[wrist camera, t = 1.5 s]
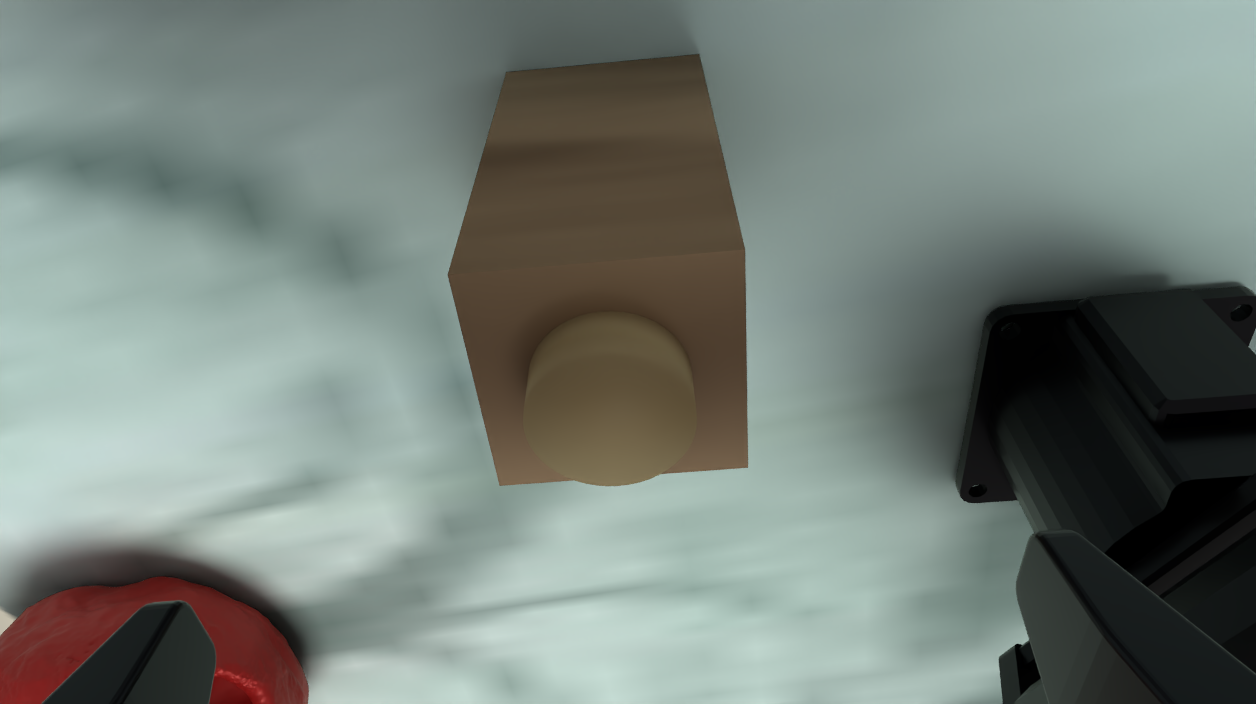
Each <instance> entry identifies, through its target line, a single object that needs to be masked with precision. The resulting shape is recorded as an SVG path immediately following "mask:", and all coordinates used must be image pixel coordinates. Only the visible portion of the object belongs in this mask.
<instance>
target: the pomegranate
mask: <svg viewBox="0 0 1256 704" xmlns="http://www.w3.org/2000/svg"><path fill="white" fill-rule="evenodd" d="M176 600H182V601H185V602H187V603H188V604H190V605H191V607H192V608H193V610H194V611H195V613H196V615H197V616H198V618H199V620H200V621H201V623H202V625H203V626H204V628H205V630H206V631H207V633H208V635H209V636H210V638H211V640H212V641H213V643H214V646H215V650H216V669H215V674H214V679H213V685H212V690H211V696H210V701H209V704H308V696H309V687H308V683H307V680H306V677H305V674H304V672H303V669H302V667H301V665H300V663H299V661H298V660H297V658H296V657H295V655H294V653H293V651H292V649H291V648H290V647H289V645H288V642H287V640H286V639H285V637H284V636H283V635H282V634H281V633H280V632H279V631H278V630H277V629H276V628H275V627H274V626H273V625H272V624H271V623H270V621H269V619H268V618H266V617H265V616H263V615H262V614H261V613H260V612H259V611H257V610H256V609H254V608H252V607H250V606H248V605H246V604H244V603H243V602H239V601H236V600H233V599H232V598H230V597H228V596H226V595H224V594H223V593H220V592H218V591H216V590H215V589H213V588H211V587H207V586H203V585H200V584H195V583H191V582H188V581H185V580H182V579H179V578H173V577H165V576H159V577H153V578H149V579H146V580H144V581H141V582H137V583H134V584H129V585H125V586H121V587H107V586H102V585H96V586H81V587H76V588H72V589H68V590H64V591H62V592H58V593H56V594H53V595H51V596H49V597H47V598H45V599H43V600H41V601H39V602H37V603H36V604H35V605H33V606H31V607H28V608H26V610H25V611H24V612H23V613H22V614H21V615H20V616H19V617H18V618H17V619H16V620H15V621H14V622H13V623H12V624H11V625H10V627H8V628H7V629H6V630H5V631H4V632H3V633H2V635H1V636H0V704H41V703H42V702H43V701H44V700H45V699H46V698H47V697H48V696H49V695H50V694H51V693H52V692H54V691H55V690H56V689H57V688H58V687H59V686H60V685H61V684H62V683H63V682H64V681H65V680H66V679H67V678H68V677H69V676H70V675H71V674H72V673H73V672H74V671H75V670H76V669H77V668H78V667H79V666H80V665H81V664H82V663H83V662H84V661H86V660H87V659H88V658H89V657H90V656H91V655H92V654H93V653H94V652H95V651H96V650H97V649H98V648H99V647H100V646H101V645H102V644H103V643H104V642H105V641H106V640H107V639H108V638H109V637H110V636H111V635H112V634H113V633H114V632H115V631H117V630H118V629H119V628H120V627H121V626H122V625H123V624H124V623H125V622H126V621H127V620H128V619H129V618H130V617H131V616H132V615H133V614H134V613H135V612H136V611H137V610H138V609H140V608H141V607H143V606H144V605H146V604H149V603H153V602H164V601H176Z"/></svg>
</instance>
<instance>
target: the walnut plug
mask: <svg viewBox="0 0 1256 704" xmlns="http://www.w3.org/2000/svg"><path fill="white" fill-rule="evenodd" d="M448 278H449V282H450V286H451V290H452V294H453V298H454V302H455V306H456V310H457V314H458V318H459V322H460V327H461V331H462V335H463V339H464V343H465V347H466V351H467V355H468V359H469V363H470V367H471V371H472V375H473V379H474V383H475V387H476V391H477V396H478V400H479V404H480V408H481V412H482V416H483V420H484V424H485V428H486V432H487V436H488V440H489V444H490V448H491V452H492V456H493V460H494V464H495V469H496V473H497V477H498V481H499V485H500V486H503V485H516V484H530V483H544V482H557V481H571V480H575V481H578V482H582V483H586V484H592V485H599V486H621V485H629V484H634V483H638V482H642V481H645V480H648V479H651V478H653V477H655V476H657V475H659V474H667V473H680V472H694V471H708V470H721V469H735V468H748V433H747V358H746V283H745V247H744V243H743V239H742V234H741V230H740V226H739V222H738V217H737V213H736V209H735V205H734V200H733V196H732V192H731V188H730V183H729V179H728V175H727V171H726V166H725V162H724V158H723V153H722V149H721V145H720V141H719V136H718V132H717V128H716V124H715V119H714V115H713V111H712V107H711V102H710V98H709V94H708V90H707V85H706V81H705V77H704V72H703V68H702V64H701V60H700V55H699V54H695V55H685V56H674V57H663V58H653V59H642V60H631V61H621V62H610V63H599V64H589V65H578V66H567V67H557V68H546V69H535V70H525V71H514V72H506V75H505V78H504V82H503V85H502V89H501V92H500V96H499V99H498V102H497V106H496V109H495V113H494V116H493V120H492V123H491V127H490V130H489V134H488V137H487V140H486V144H485V147H484V151H483V154H482V158H481V161H480V165H479V168H478V172H477V175H476V178H475V182H474V185H473V189H472V192H471V196H470V199H469V203H468V206H467V210H466V213H465V216H464V220H463V223H462V227H461V230H460V234H459V237H458V241H457V244H456V248H455V251H454V255H453V258H452V261H451V265H450V268H449V272H448Z"/></svg>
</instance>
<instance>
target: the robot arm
mask: <svg viewBox="0 0 1256 704" xmlns="http://www.w3.org/2000/svg"><path fill="white" fill-rule="evenodd" d="M1239 305H1241V306H1240V308H1238V309H1237V310H1235V311H1233V312H1232V310H1233V309H1234V308H1236V307H1237V306H1239ZM1009 323H1014V324H1013V326H1012V327H1010V328H1009V329H1006V330H1001V328H1002V327H1003V326H1005V325H1006V324H1009ZM1255 329H1256V294H1255V293H1254V292H1253V291H1252V290H1250V289H1248V288H1246V287H1227V288H1214V289H1202V290H1191V289H1182V290H1170V291H1157V292H1145V293H1132V294H1120V295H1108V296H1095V297H1089V298H1086V299H1078V300H1066V301H1054V302H1041V303H1029V304H1016V305H1007V306H1002V307H999V308H997V309H995V310H994V311H992V312H991V313H990V314H989V315H988V316H987V318H986V320H985V323H984V327H983V332H982V338H981V344H980V349H979V355H978V360H977V366H976V371H975V377H974V382H973V388H972V393H971V399H970V405H969V410H968V416H967V421H966V427H965V432H964V438H963V443H962V449H961V454H960V460H959V466H958V471H957V477H956V488H957V490H958V492H959V495H960V497H961V498H962V499H963V500H964V501H966V502H968V503H985V502H999V501H1013V500H1018V501H1019V503H1020V505H1021V507H1022V509H1023V511H1024V513H1025V515H1026V517H1027V519H1028V521H1029V523H1030V525H1031V527H1032V529H1033V531H1034V534H1032V535H1031V536H1030V538H1029V540H1028V543H1027V546H1026V549H1025V553H1024V556H1023V560H1022V563H1021V566H1020V570H1019V573H1018V576H1017V581H1016V594H1017V600H1018V604H1019V607H1020V611H1021V614H1022V617H1023V620H1024V624H1025V627H1026V630H1027V634H1028V637H1029V641H1027V642H1026V643H1025V644H1023V645H1021V644H1016V645H1015V646H1013V647H1012V648H1011V649H1009V650H1008V651H1007V652H1005V653H1004V654H1002V655H1001V656H1000V657H999V667H1000V678H1001V688H1002V698H1003V704H1256V354H1255V353H1254V352H1253V351H1252V350H1251V349H1250V348H1249V347H1248V346H1249V343H1250V341H1251V338H1252V336H1253V334H1254V331H1255ZM978 484H979V485H978ZM974 485H977V486H974ZM973 486H974V487H973ZM215 669H216V650H215V646H214V643H213V641H212V640H211V638H210V636H209V635H208V633H207V631H206V630H205V628H204V626H203V625H202V623H201V621H200V620H199V618H198V616H197V615H196V613H195V611H194V610H193V608H192V607H191V605H190V604H188V603H187V602H185V601H182V600H176V601H164V602H153V603H149V604H146V605H144V606H143V607H141V608H140V609H138V610H137V611H136V612H135V613H134V614H133V615H132V616H131V617H130V618H129V619H128V620H127V621H126V622H125V623H124V624H123V625H122V626H121V627H120V628H119V629H118V630H117V631H115V632H114V633H113V634H112V635H111V636H110V637H109V638H108V639H107V640H106V641H105V642H104V643H103V644H102V645H101V646H100V647H99V648H98V649H97V650H96V651H95V652H94V653H93V654H92V655H91V656H90V657H89V658H88V659H87V660H86V661H84V662H83V663H82V664H81V665H80V666H79V667H78V668H77V669H76V670H75V671H74V672H73V673H72V674H71V675H70V676H69V677H68V678H67V679H66V680H65V681H64V682H63V683H62V684H61V685H60V686H59V687H58V688H57V689H56V690H55V691H54V692H52V693H51V694H50V695H49V696H48V697H47V698H46V699H45V700H44V701H43V702H42V703H41V704H209V701H210V696H211V690H212V685H213V679H214V674H215Z"/></svg>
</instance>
